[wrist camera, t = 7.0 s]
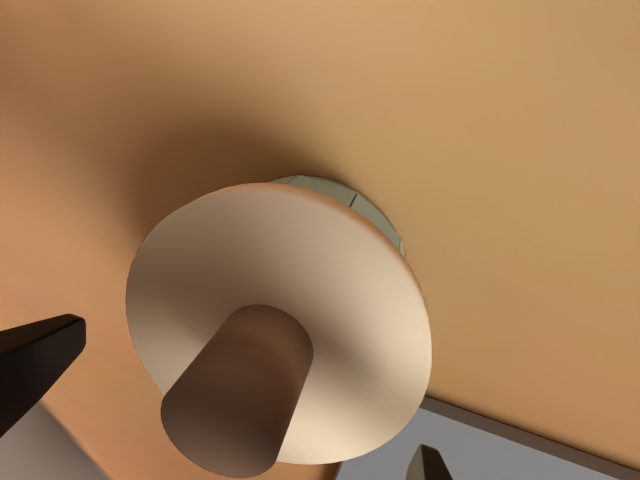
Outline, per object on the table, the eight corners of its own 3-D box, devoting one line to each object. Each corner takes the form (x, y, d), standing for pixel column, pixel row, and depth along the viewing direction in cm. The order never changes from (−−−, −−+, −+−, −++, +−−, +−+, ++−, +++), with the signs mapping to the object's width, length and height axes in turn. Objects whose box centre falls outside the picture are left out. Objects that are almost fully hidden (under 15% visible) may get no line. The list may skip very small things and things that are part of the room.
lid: (378, 473, 13) (365, 619, 10) (142, 385, 14) (49, 486, 11) (481, 239, 9) (524, 330, 6) (152, 144, 11) (16, 171, 7)
